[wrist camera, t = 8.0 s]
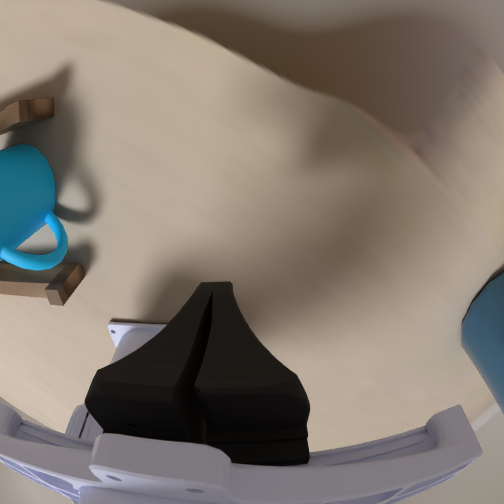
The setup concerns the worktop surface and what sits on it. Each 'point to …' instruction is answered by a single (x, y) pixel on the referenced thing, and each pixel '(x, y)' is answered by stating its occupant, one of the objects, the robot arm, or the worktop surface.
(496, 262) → the worktop surface
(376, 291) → the worktop surface
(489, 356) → the wine bottle
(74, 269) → the wooden crate frame
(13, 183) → the mug
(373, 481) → the robot arm
